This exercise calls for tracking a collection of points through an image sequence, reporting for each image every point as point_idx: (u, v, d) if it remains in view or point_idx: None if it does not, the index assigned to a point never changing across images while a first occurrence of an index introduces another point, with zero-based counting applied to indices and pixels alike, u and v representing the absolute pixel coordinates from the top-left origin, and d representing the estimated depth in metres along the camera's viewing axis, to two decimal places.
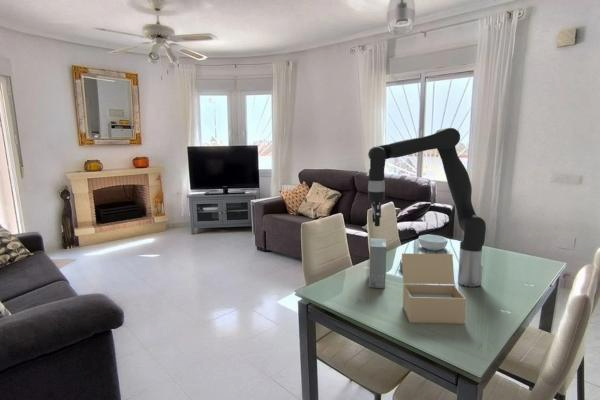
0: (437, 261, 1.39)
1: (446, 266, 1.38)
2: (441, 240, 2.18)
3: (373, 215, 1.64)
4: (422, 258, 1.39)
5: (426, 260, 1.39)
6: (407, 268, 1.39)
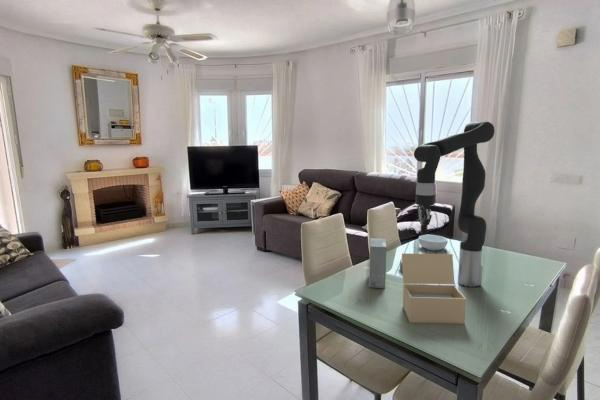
0: (437, 261, 1.39)
1: (446, 266, 1.38)
2: (441, 240, 2.18)
3: None
4: (422, 258, 1.39)
5: (426, 260, 1.39)
6: (407, 268, 1.39)
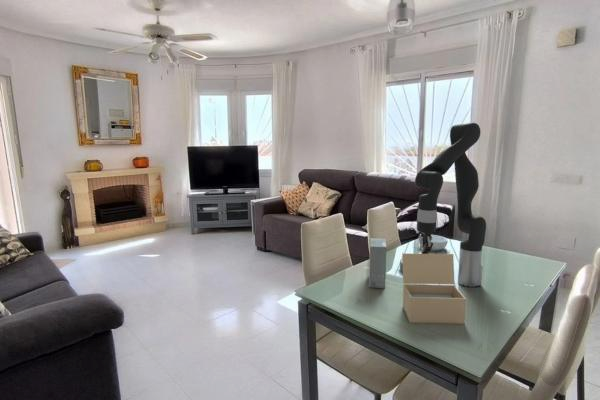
0: (437, 261, 1.38)
1: (446, 266, 1.37)
2: (441, 240, 2.18)
3: None
4: (423, 258, 1.38)
5: (426, 260, 1.38)
6: (407, 268, 1.39)
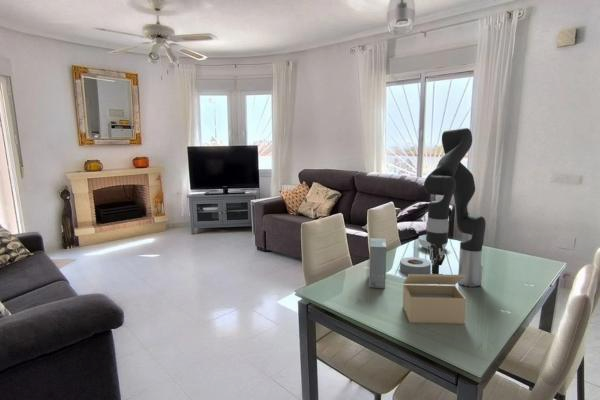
0: (445, 278, 1.29)
1: (453, 280, 1.30)
2: None
3: None
4: (430, 277, 1.28)
5: (434, 278, 1.29)
6: (411, 280, 1.32)
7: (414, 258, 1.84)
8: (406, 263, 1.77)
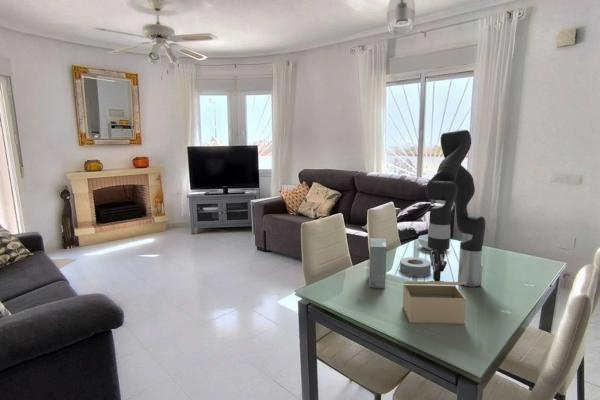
0: None
1: (453, 284, 1.30)
2: None
3: None
4: None
5: None
6: None
7: (414, 258, 1.84)
8: (406, 263, 1.77)
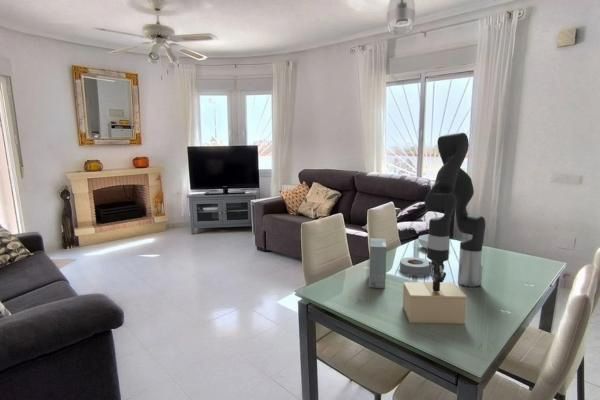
0: None
1: None
2: None
3: None
4: None
5: None
6: None
7: (414, 258, 1.84)
8: (406, 263, 1.77)
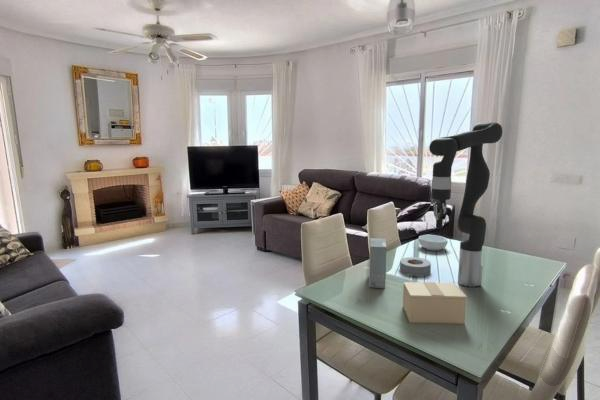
0: None
1: None
2: (441, 240, 2.18)
3: None
4: None
5: None
6: None
7: (414, 258, 1.84)
8: (406, 263, 1.77)
